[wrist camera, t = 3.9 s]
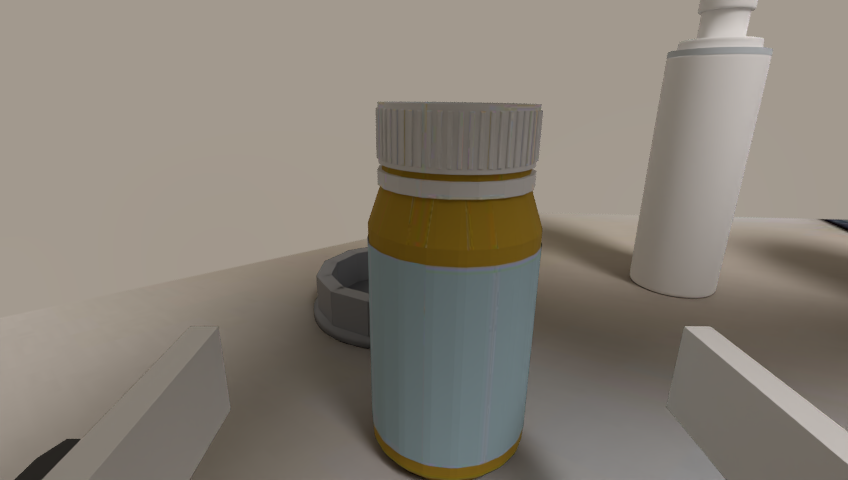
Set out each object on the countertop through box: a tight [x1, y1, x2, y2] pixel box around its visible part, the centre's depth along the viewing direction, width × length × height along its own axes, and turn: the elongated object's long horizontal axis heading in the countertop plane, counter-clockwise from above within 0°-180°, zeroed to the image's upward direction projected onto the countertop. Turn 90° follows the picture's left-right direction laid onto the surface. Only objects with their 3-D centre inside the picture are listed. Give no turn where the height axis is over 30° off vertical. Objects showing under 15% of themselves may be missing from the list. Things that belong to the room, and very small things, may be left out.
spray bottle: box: [630, 0, 773, 298], centre depth 35 cm, size 7×7×25 cm
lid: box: [314, 247, 371, 348], centre depth 33 cm, size 12×12×3 cm
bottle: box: [368, 102, 543, 480], centre depth 19 cm, size 7×7×15 cm
